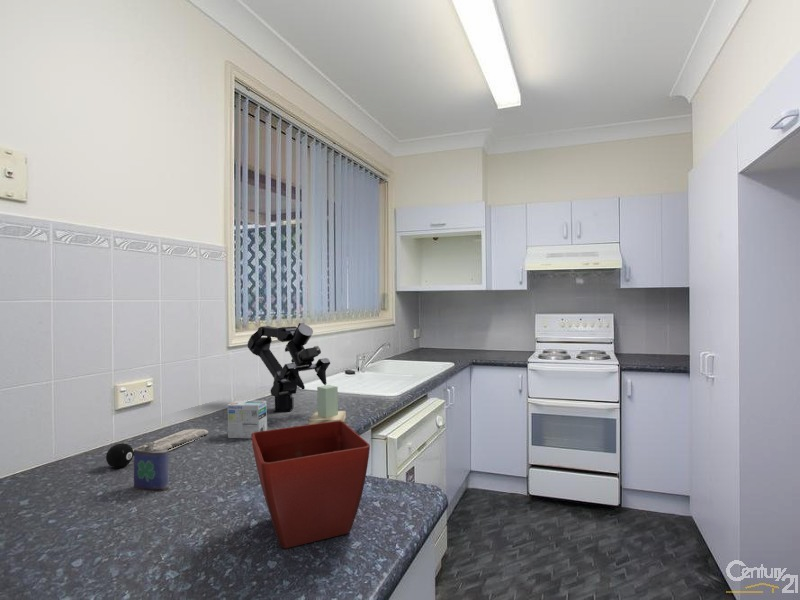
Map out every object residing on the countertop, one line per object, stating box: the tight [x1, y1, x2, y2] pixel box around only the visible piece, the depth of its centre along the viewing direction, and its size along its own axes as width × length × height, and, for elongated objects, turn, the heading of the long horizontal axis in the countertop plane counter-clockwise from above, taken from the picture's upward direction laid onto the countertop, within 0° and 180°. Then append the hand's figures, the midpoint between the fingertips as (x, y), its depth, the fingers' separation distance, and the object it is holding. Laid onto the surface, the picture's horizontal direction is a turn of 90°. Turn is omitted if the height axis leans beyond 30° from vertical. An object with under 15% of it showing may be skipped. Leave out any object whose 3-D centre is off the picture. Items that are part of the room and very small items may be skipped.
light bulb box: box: [226, 400, 268, 439], centre depth 144 cm, size 11×7×11 cm, turn 84°
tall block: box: [316, 384, 339, 418], centre depth 156 cm, size 5×5×10 cm
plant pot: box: [251, 421, 371, 549], centre depth 85 cm, size 19×19×17 cm
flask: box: [133, 441, 170, 492], centre depth 104 cm, size 9×3×11 cm, turn 74°
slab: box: [308, 410, 347, 425], centre depth 156 cm, size 11×12×3 cm
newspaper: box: [132, 428, 209, 453], centre depth 138 cm, size 23×12×2 cm, turn 161°
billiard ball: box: [105, 443, 134, 469], centre depth 118 cm, size 6×6×6 cm
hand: (315, 386), depth 162 cm, fingers open, 9 cm apart
